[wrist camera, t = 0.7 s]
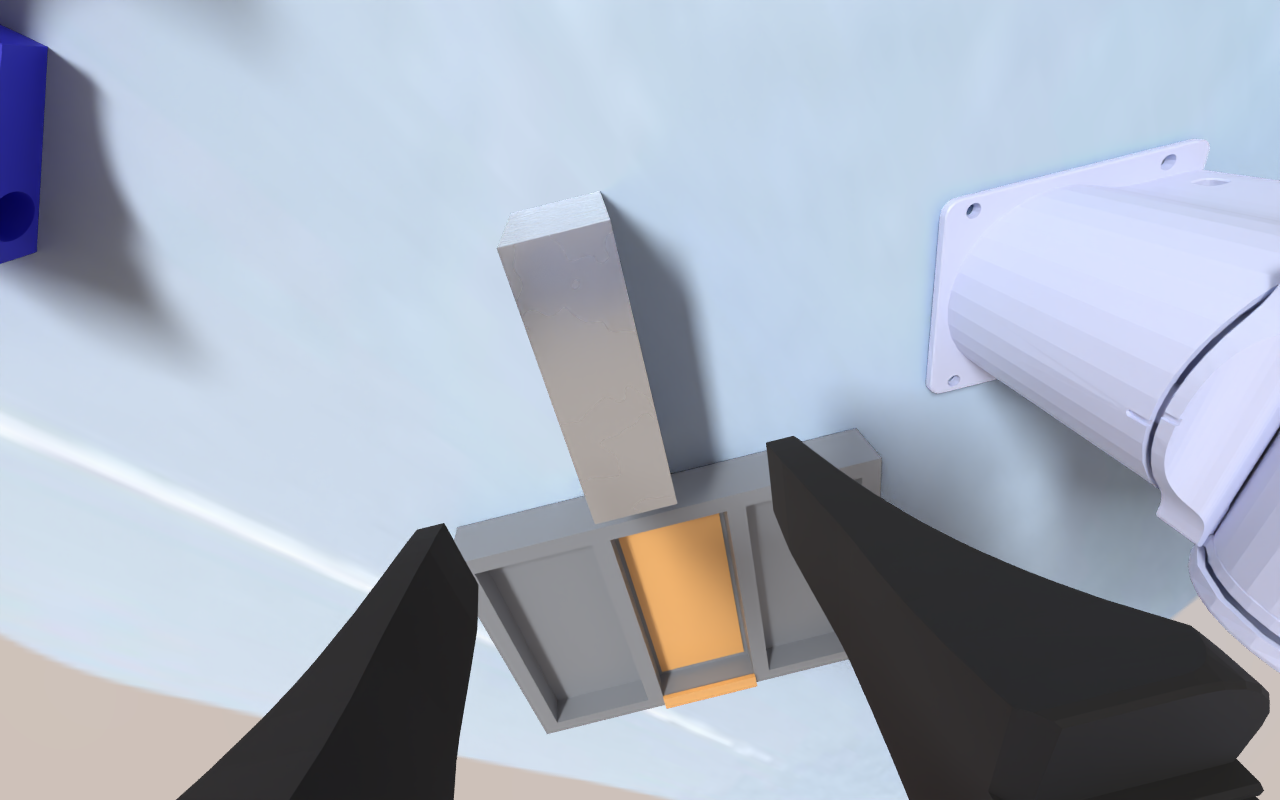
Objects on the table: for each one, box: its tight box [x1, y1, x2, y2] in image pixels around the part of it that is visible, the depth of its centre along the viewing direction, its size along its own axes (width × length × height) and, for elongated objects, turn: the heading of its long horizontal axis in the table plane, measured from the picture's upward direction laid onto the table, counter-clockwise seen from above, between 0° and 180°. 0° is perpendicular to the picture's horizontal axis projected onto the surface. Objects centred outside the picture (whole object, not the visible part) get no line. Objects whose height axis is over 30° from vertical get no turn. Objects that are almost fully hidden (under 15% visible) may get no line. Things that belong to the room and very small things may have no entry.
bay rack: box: [454, 428, 882, 734], centre depth 26 cm, size 18×14×2 cm
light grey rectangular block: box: [497, 191, 677, 524], centre depth 18 cm, size 3×10×4 cm, turn 12°
